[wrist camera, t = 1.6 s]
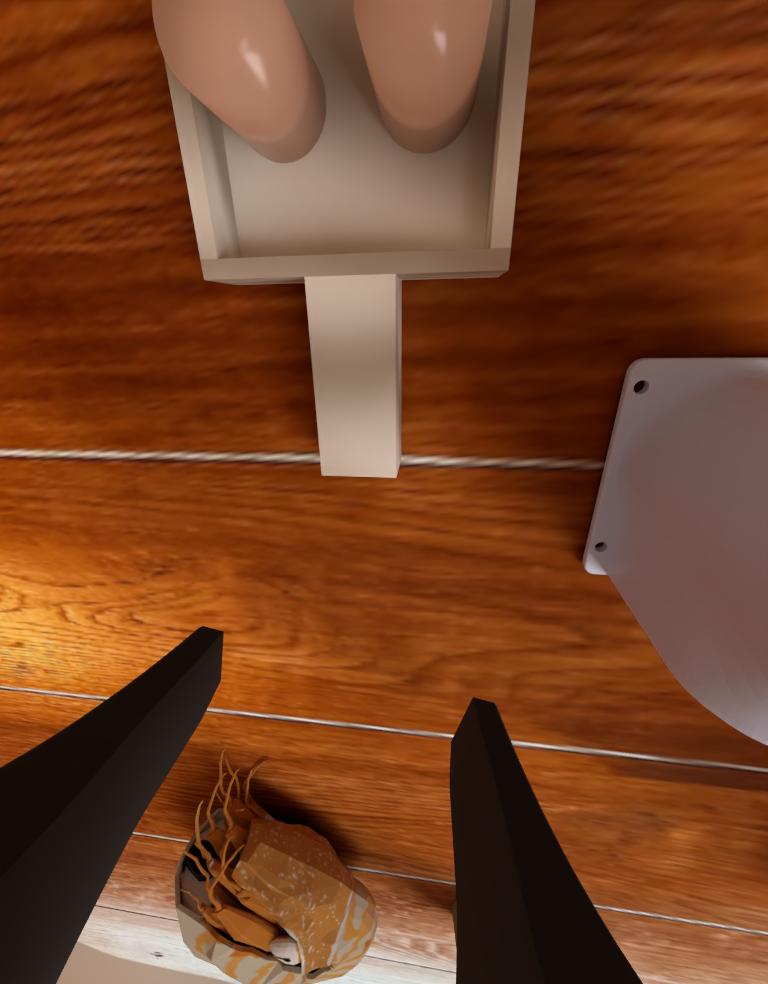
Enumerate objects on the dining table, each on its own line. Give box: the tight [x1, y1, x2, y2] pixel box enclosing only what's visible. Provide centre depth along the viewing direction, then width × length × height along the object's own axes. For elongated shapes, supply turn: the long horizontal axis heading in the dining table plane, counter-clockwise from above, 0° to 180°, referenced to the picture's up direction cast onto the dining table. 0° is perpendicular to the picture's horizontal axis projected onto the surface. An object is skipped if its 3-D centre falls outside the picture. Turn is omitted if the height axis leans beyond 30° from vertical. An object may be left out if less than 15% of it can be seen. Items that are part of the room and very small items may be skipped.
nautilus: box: [175, 748, 377, 984], centre depth 28 cm, size 8×22×15 cm
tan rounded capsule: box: [353, 0, 493, 154], centre depth 10 cm, size 3×3×4 cm
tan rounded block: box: [152, 0, 326, 163], centre depth 11 cm, size 3×3×4 cm
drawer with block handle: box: [164, 0, 535, 478], centre depth 13 cm, size 17×10×2 cm, turn 1°
